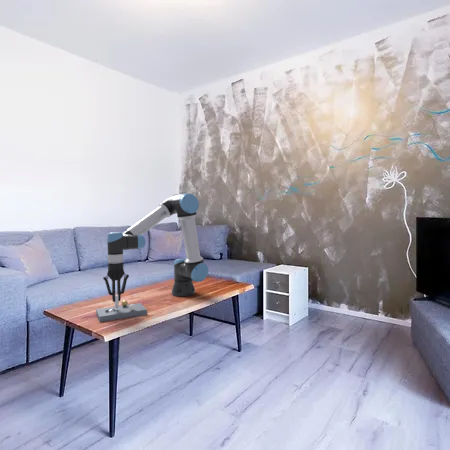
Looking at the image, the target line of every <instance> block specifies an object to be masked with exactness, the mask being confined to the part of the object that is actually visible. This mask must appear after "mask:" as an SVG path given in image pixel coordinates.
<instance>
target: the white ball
mask: <svg viewBox="0 0 450 450" xmlns="http://www.w3.org/2000/svg"><path fill="white" fill-rule="evenodd" d="M134 304H135V303H131V305H130V306H129V309H130V310H131V311H133V310H135V308H136V307H135V305H134Z"/></svg>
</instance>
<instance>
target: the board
mask: <svg viewBox="0 0 450 450" xmlns="http://www.w3.org/2000/svg"><path fill="white" fill-rule="evenodd" d="M131 304H132V303H131ZM131 304H127V306H122V305H119V308H115V306H109V307H102V308H95V313H96V314H95V315H96V317H97V319H98V321H99V322H100V323H101V322H108V321H115V320H120V319H125V318H133V317H138V316H144V315H148V309H147V308H146V307H145V306H144V305H143V304H142V303H141V302H139V303H138V302H137V303H133V304H134V305H135V307H136V308H135V310H133V311H131V310H130V309H129V306H130V305H131ZM111 309H112V310H114V312H109V313H108V311H109V310H111Z"/></svg>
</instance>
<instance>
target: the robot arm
mask: <svg viewBox="0 0 450 450" xmlns="http://www.w3.org/2000/svg"><path fill="white" fill-rule="evenodd" d="M199 205H200V203H199V200H198V198H197V196H195V195H194V194H193V193H187V192H186V193H185V192H184V193H180V194H179V193H177V194H172V195H171V196H169V197H168V198H166V199H164V201H163V202H161V203H159V204H158V207H157V208H155V209H154V210H153V211H151V212H150V213H149V214H147V215H146V216H144V217H143V218H141V220H139V221H137V222H136V223H135V224H133V225H132V226H130V227H129V228H127V229H126V231H123V232H122V231H116V232H115V231H112V232H108V233H107V239H106V242H107V262H108V263H107V273H106V275H104V276H102V279H103V280H104V282H105V286H106V289H107V294H108V295H109V296H111V297H112V299H111V300H112V302H113V303H114V307H115V308H119V306H120V305H119V303H120V302H121V298H122V297H121V296H122V295H123V294H124V293H125V290H126V285H127V281H128V279H129V277H130V275H129V274H128V273H125V269H124V251H127V250H140V249H143V248H145V247H146V238H145V236H144V235H145V234H146V233H148V231H150V230H151V229H153V227H155V226H156V225H158V224H160V222H162V221H163V220H165V219H166V218H170V217H171V216H173V215H175V214H176V215H177V216H176V217H177V219H179V220H180V225H181V231H182V237H183V245H184V250H185V257H186V258H176V259H174V260H173V261H174V262H173V275H174V276H173V280H174V282H173V285H172V287H171V288H172V289H171V296H174V297H189V296H193V295H195V294H196V289H195V286H194V283H193V282H197V283H200V282H203V281H205V279H207V277H208V275H209V266H208V264H206V263H204V262H205V260H204V257H202V256H201V252H200V246H199V245H200V244H199V239H198V232H197V226H196V225H197V224H196V216H197V215H198V214H197V212H198V210H199ZM121 279H123V280H122V281H123V282H122V285H121ZM109 280H111V287H110V283H109ZM116 288H117V289H116ZM116 290H117V291H116ZM116 292H117V294H116Z"/></svg>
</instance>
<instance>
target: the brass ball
mask: <svg viewBox="0 0 450 450" xmlns="http://www.w3.org/2000/svg"><path fill="white" fill-rule="evenodd" d="M128 303H129V302H128V300H124V299H123V300H122V301H121V306H127V305H129V304H128Z"/></svg>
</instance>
